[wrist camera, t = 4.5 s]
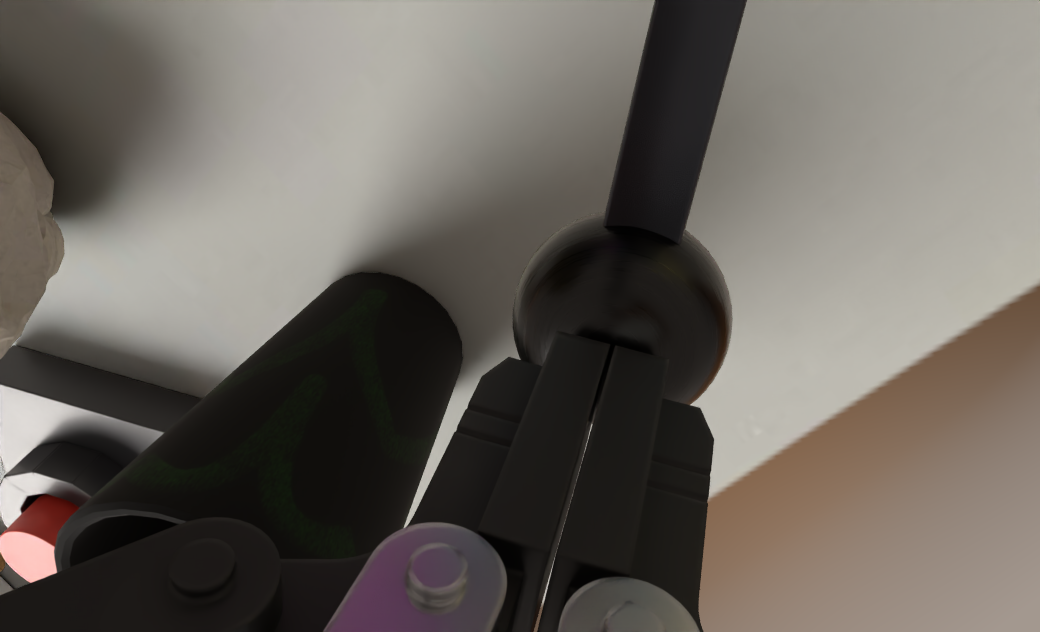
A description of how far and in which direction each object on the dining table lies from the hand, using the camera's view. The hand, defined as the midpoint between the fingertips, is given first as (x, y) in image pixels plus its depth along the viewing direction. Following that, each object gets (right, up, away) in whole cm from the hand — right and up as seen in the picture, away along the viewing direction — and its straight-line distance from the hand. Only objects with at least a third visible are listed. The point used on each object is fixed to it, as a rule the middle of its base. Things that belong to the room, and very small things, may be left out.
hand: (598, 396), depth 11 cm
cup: (-6, 0, +18) cm, 19 cm away
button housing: (-19, -6, +26) cm, 33 cm away
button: (-20, -8, +23) cm, 31 cm away
